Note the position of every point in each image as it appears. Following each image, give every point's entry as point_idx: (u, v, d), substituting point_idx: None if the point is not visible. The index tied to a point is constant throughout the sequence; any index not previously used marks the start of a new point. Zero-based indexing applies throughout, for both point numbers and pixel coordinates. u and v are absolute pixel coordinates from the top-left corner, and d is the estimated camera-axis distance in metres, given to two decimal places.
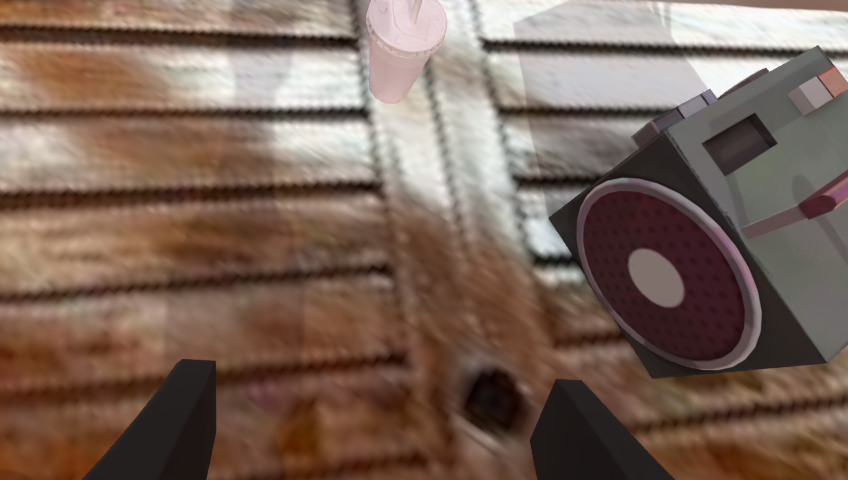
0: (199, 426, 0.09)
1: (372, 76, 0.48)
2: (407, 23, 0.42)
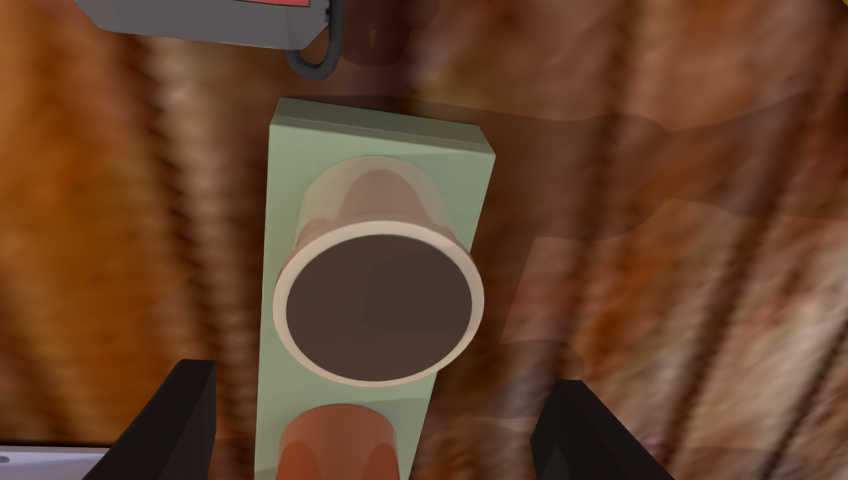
0: (199, 426, 0.09)
1: None
2: None
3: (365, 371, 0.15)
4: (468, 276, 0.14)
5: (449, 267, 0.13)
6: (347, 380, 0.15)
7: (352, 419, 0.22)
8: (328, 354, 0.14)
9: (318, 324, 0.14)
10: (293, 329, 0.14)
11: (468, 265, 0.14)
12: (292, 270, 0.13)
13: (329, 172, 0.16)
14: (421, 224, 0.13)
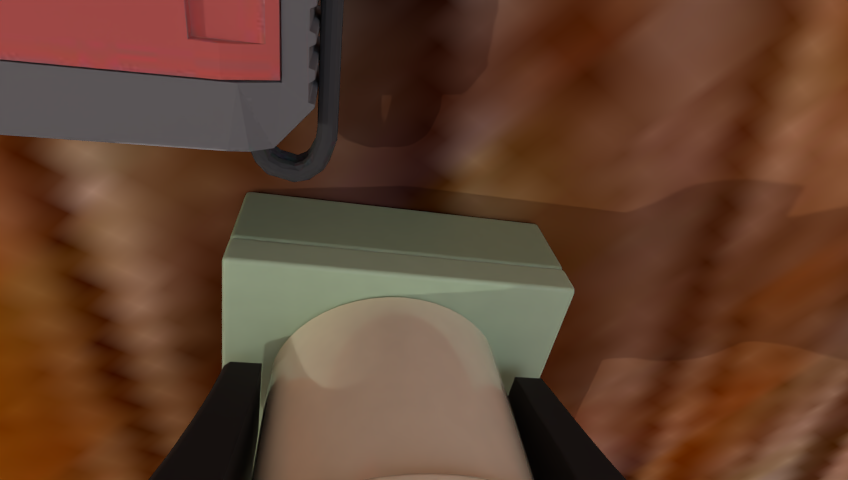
0: (250, 428, 0.10)
1: None
2: None
3: None
4: None
5: None
6: None
7: None
8: None
9: None
10: None
11: None
12: None
13: (316, 327, 0.10)
14: None
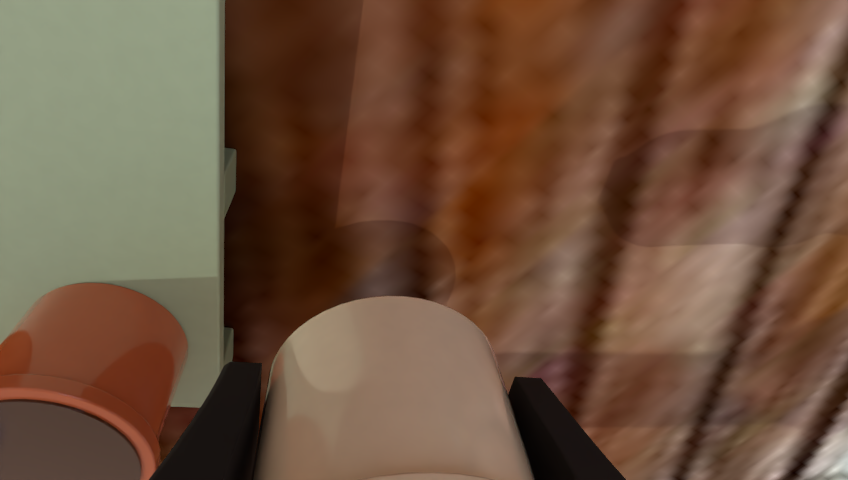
0: (250, 428, 0.10)
1: None
2: None
3: None
4: None
5: None
6: None
7: (100, 299, 0.16)
8: None
9: None
10: None
11: None
12: None
13: (316, 326, 0.10)
14: None
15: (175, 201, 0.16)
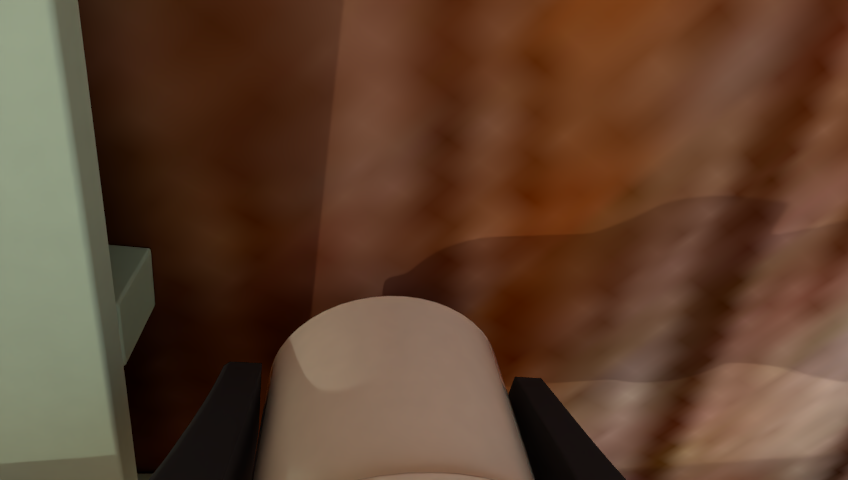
0: (250, 428, 0.10)
1: None
2: None
3: None
4: None
5: None
6: None
7: None
8: None
9: None
10: None
11: None
12: None
13: (316, 326, 0.10)
14: None
15: (29, 358, 0.09)
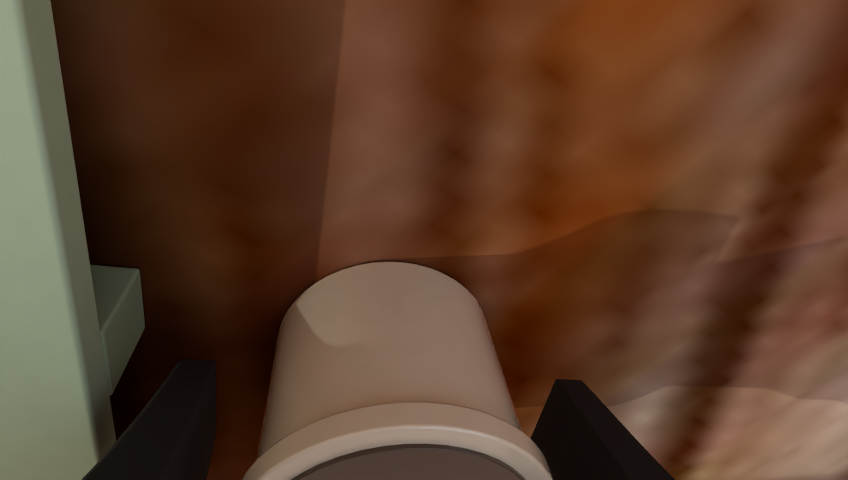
0: (199, 426, 0.09)
1: None
2: None
3: None
4: None
5: None
6: None
7: None
8: None
9: None
10: None
11: (539, 475, 0.09)
12: None
13: (322, 288, 0.11)
14: (468, 424, 0.08)
15: (6, 393, 0.09)
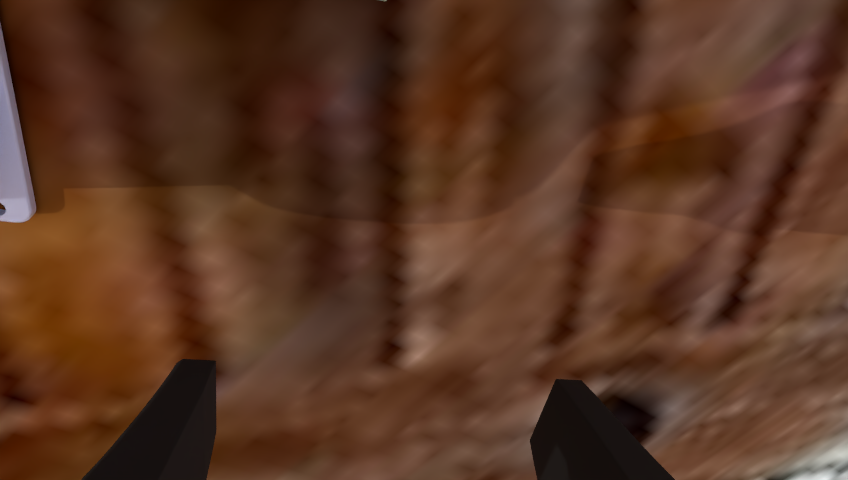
0: (199, 426, 0.09)
1: None
2: None
3: None
4: None
5: None
6: None
7: None
8: None
9: None
10: None
11: None
12: None
13: None
14: None
15: None
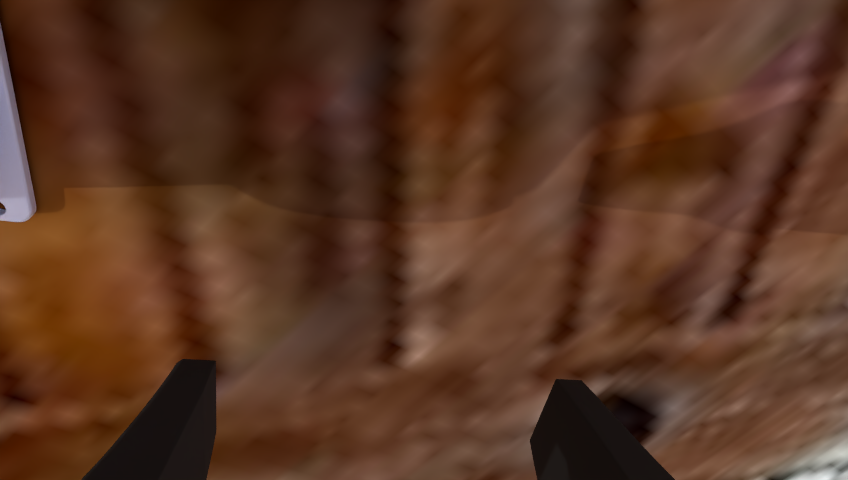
0: (199, 426, 0.09)
1: None
2: None
3: None
4: None
5: None
6: None
7: None
8: None
9: None
10: None
11: None
12: None
13: None
14: None
15: None
